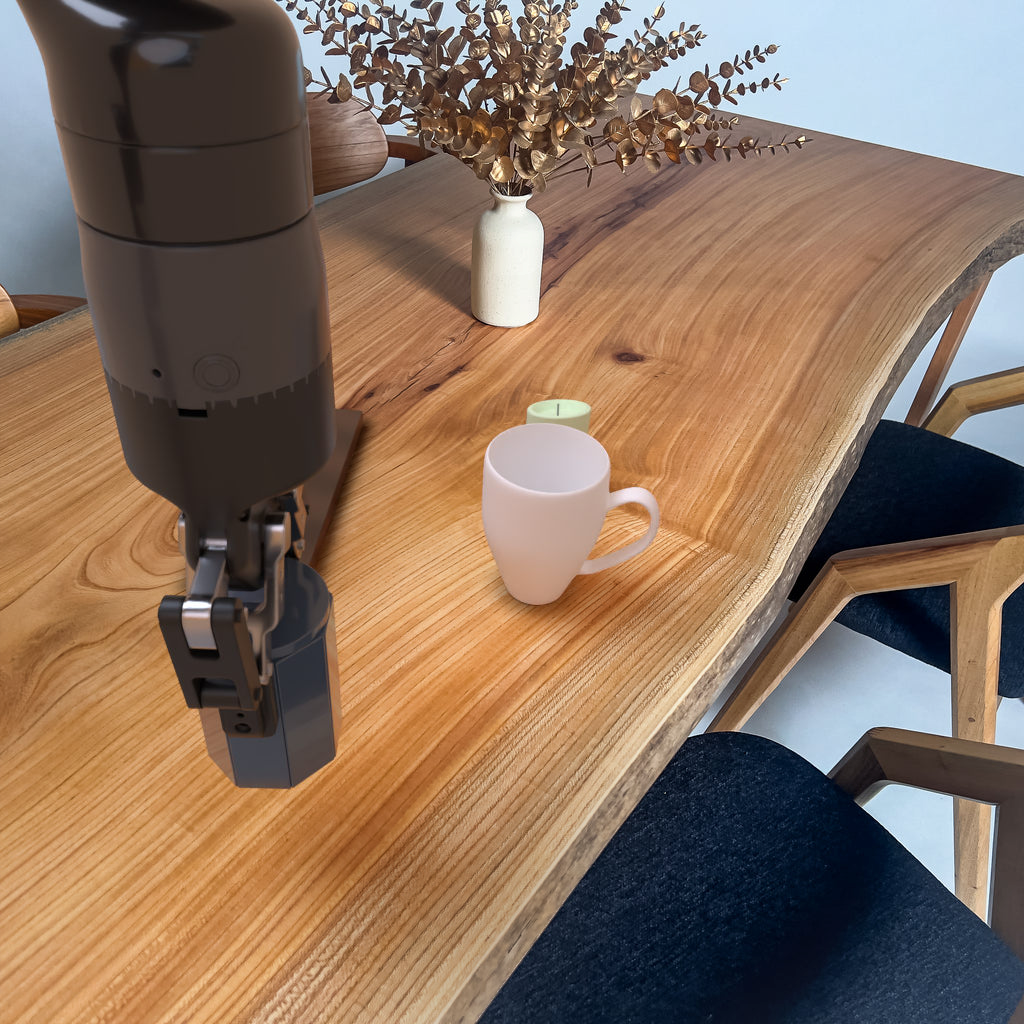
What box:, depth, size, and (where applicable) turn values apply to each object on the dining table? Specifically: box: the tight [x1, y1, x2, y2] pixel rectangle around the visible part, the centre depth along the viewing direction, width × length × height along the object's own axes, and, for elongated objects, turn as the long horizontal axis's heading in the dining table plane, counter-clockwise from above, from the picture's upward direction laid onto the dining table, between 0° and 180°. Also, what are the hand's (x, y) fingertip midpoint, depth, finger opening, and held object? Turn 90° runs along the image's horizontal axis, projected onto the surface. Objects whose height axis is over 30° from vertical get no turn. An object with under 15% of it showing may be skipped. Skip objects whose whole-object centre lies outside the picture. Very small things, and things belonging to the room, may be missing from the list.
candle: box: [525, 398, 592, 435], centre depth 73 cm, size 5×5×8 cm
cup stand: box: [299, 408, 364, 570], centre depth 68 cm, size 22×8×12 cm, turn 177°
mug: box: [481, 423, 661, 606], centre depth 62 cm, size 12×8×11 cm
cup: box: [197, 557, 343, 790], centre depth 41 cm, size 6×6×9 cm
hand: (267, 671), depth 41 cm, fingers closed on cup, 6 cm apart
